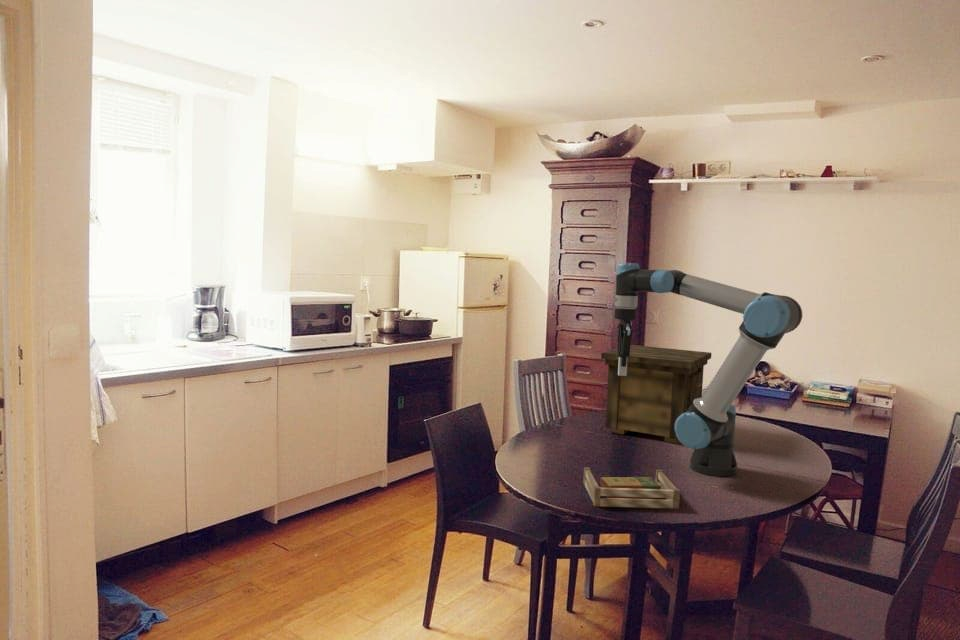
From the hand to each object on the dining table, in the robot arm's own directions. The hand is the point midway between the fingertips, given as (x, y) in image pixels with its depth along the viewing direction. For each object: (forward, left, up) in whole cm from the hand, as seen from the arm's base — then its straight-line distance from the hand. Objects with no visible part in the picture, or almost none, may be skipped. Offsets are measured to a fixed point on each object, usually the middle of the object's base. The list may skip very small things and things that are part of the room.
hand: (622, 375), depth 222 cm
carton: (+4, +35, -30) cm, 46 cm away
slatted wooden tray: (+5, +37, -29) cm, 47 cm away
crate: (-23, -38, -30) cm, 53 cm away
